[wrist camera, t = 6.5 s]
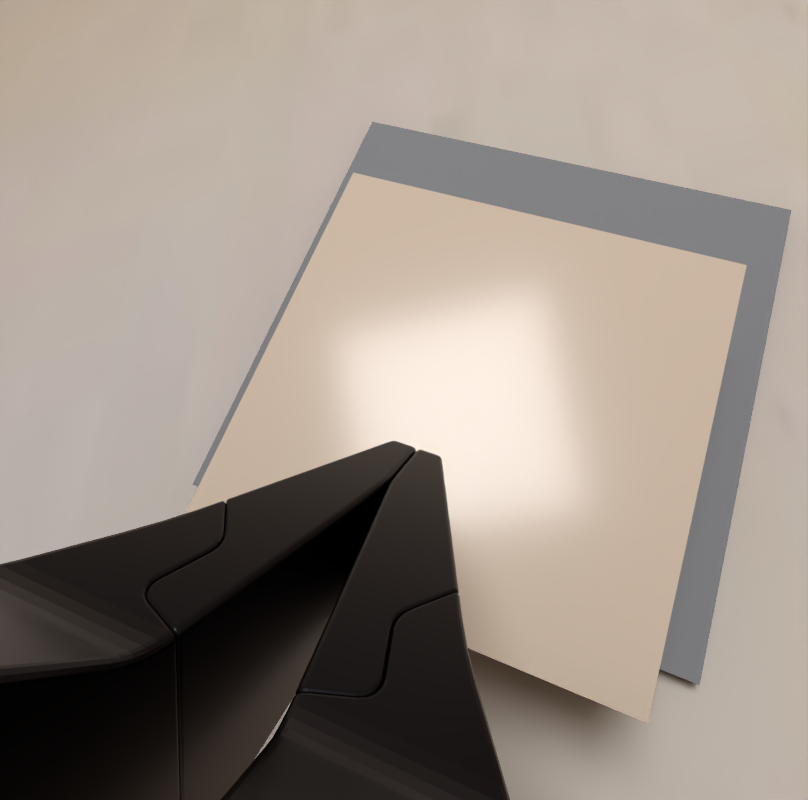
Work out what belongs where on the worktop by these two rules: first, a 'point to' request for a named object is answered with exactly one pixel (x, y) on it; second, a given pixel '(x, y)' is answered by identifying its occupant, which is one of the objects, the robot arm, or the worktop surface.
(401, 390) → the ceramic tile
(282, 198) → the worktop surface
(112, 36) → the worktop surface
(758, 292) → the slate mat
